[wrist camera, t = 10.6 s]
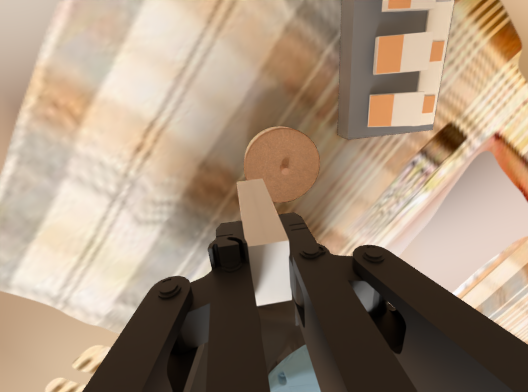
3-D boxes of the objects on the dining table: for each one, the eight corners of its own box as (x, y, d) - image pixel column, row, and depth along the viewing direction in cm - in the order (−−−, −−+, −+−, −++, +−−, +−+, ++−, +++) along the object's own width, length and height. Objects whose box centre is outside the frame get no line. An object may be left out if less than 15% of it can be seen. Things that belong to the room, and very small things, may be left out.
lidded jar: (250, 112, 41) (257, 120, 32) (313, 130, 43) (335, 142, 35) (233, 177, 45) (236, 199, 36) (293, 190, 47) (308, 214, 39)
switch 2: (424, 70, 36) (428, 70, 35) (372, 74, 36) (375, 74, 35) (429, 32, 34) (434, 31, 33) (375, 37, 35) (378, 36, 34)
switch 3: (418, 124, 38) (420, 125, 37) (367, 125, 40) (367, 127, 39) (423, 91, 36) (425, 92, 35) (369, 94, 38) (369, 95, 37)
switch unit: (415, 126, 46) (438, 131, 41) (337, 134, 44) (351, 141, 40) (439, -36, 37) (471, -54, 32) (342, -32, 35) (361, -49, 31)
